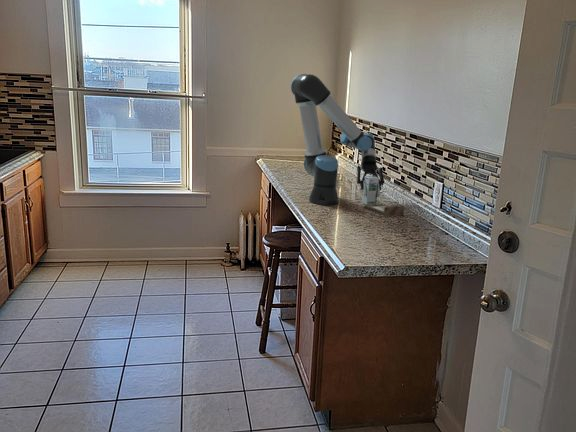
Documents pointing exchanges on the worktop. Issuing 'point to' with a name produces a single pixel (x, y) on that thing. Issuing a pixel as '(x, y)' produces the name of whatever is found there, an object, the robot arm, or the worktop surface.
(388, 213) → the walnut stand board
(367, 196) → the syrup box
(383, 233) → the worktop surface
